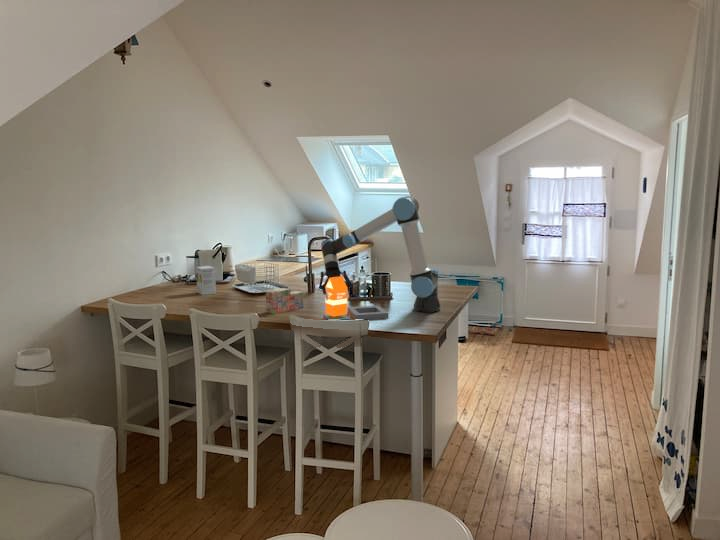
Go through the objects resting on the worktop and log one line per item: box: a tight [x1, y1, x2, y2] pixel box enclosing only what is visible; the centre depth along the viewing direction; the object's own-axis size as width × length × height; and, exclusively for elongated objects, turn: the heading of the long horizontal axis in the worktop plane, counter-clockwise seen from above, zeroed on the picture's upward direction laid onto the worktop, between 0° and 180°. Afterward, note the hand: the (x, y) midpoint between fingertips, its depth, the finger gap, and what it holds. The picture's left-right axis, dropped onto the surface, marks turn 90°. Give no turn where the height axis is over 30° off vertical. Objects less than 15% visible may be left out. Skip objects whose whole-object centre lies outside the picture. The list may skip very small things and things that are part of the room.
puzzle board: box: [347, 305, 389, 321], centre depth 321 cm, size 18×18×3 cm
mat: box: [323, 314, 351, 320], centre depth 317 cm, size 12×12×1 cm
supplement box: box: [195, 265, 217, 296], centre depth 380 cm, size 10×9×17 cm
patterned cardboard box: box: [265, 287, 304, 315], centre depth 333 cm, size 21×6×12 cm, turn 134°
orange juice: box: [324, 275, 348, 317], centre depth 315 cm, size 8×9×20 cm
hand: (337, 298), depth 313 cm, fingers closed on orange juice, 10 cm apart
